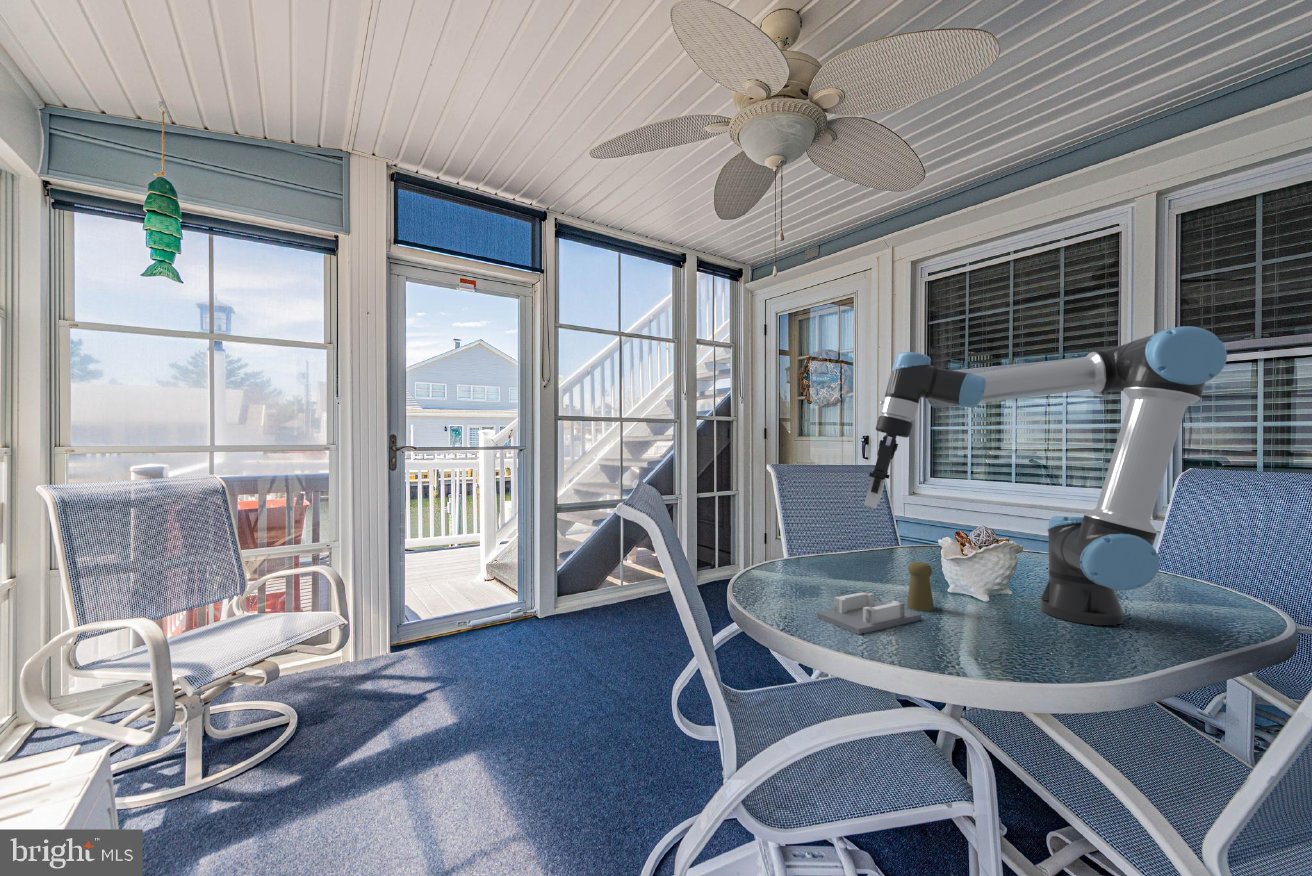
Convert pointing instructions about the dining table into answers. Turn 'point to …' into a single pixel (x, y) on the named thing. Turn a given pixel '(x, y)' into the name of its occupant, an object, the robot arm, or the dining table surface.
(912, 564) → the cork
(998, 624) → the dining table surface
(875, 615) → the base
